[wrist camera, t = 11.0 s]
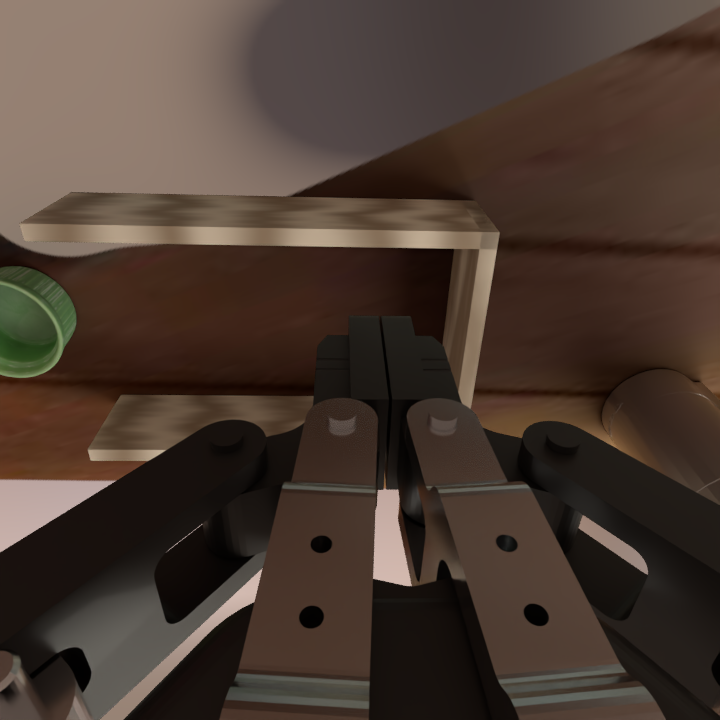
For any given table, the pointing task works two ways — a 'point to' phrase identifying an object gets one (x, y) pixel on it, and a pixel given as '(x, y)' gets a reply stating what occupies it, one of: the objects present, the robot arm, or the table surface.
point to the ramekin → (32, 322)
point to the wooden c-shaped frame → (273, 228)
